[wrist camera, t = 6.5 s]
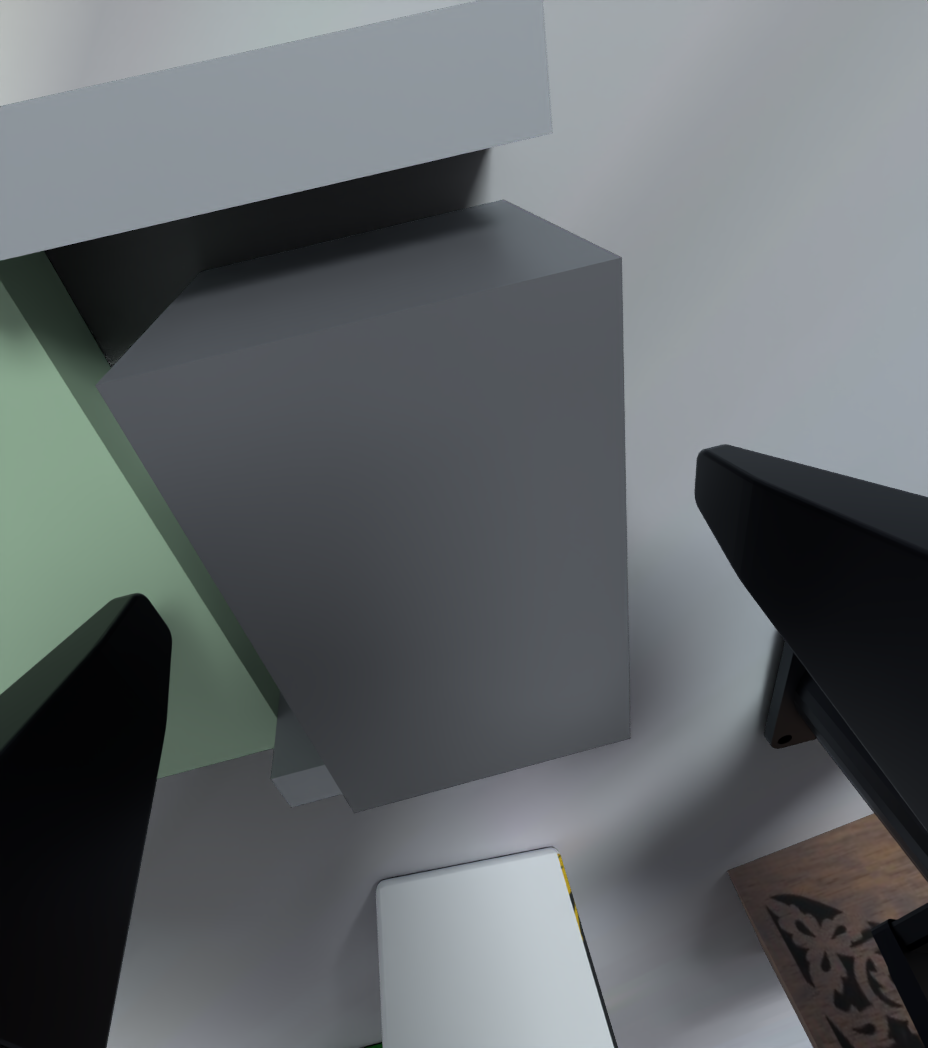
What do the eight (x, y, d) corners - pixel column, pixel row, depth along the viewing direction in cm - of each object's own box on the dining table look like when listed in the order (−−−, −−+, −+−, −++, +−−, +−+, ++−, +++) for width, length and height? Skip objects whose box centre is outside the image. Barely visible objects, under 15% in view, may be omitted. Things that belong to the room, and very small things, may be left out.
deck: (556, 630, 15) (596, 726, 13) (-4, 776, 15) (-72, 904, 12) (481, 27, 8) (541, -13, 6) (-633, 276, 7) (-1099, 350, 5)
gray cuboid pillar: (548, 562, 14) (630, 738, 10) (350, 613, 14) (353, 813, 10) (501, 198, 9) (621, 257, 5) (202, 269, 9) (95, 385, 5)
